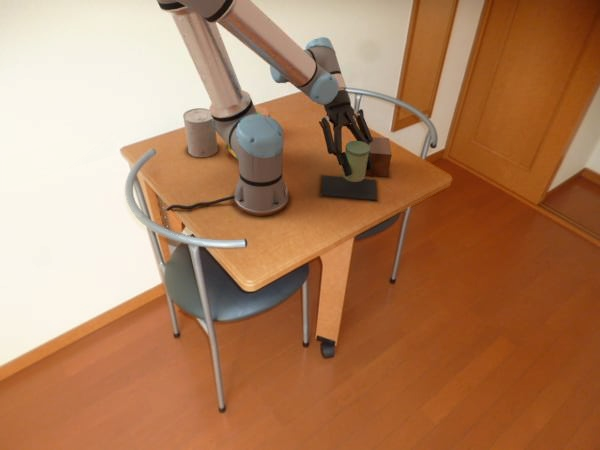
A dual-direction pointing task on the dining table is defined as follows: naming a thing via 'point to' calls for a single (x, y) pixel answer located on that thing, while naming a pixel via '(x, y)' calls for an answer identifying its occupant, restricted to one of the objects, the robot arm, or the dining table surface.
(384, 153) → the walnut block
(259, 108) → the trinket box
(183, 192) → the dining table surface
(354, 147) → the green tin
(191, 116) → the grey cylinder
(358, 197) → the rubber mat
